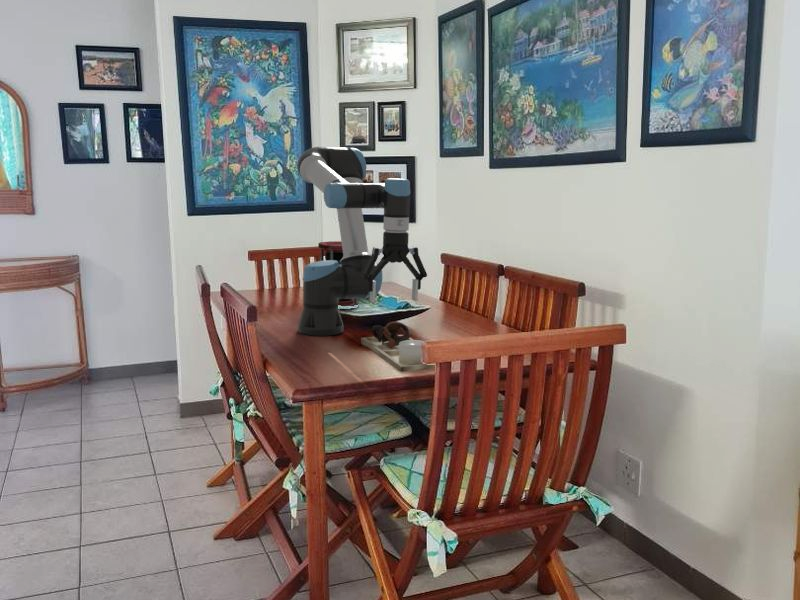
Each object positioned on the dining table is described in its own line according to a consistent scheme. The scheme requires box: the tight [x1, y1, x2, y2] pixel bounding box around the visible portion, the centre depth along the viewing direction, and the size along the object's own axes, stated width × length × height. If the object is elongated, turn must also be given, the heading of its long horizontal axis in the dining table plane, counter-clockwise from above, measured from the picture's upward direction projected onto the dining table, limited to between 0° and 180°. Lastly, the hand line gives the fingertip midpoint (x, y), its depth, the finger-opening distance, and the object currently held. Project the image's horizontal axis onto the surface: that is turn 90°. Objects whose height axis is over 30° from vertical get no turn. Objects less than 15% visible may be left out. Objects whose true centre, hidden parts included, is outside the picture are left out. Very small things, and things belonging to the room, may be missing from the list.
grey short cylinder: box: [399, 339, 425, 365], centre depth 207 cm, size 9×9×5 cm
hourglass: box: [317, 240, 360, 306], centre depth 286 cm, size 16×16×25 cm
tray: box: [360, 334, 435, 372], centre depth 216 cm, size 15×35×2 cm, turn 21°
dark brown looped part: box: [370, 321, 411, 349], centre depth 224 cm, size 12×10×8 cm
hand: (393, 301), depth 221 cm, fingers open, 13 cm apart
